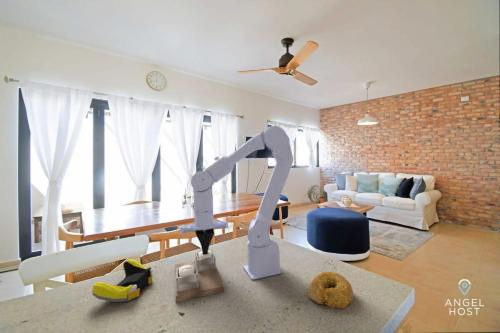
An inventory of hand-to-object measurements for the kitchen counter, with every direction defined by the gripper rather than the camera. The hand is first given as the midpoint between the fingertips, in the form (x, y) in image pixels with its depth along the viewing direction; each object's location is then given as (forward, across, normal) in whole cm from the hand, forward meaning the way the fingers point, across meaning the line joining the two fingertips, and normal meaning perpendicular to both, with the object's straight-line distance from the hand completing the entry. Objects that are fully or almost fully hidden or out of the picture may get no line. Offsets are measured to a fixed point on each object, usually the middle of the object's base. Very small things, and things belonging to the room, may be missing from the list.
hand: (205, 253), depth 68 cm
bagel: (+6, -27, +24) cm, 37 cm away
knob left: (+4, +6, +8) cm, 11 cm away
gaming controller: (+6, +21, +2) cm, 22 cm away
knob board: (+6, +3, +4) cm, 7 cm away
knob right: (+4, 0, 0) cm, 4 cm away
